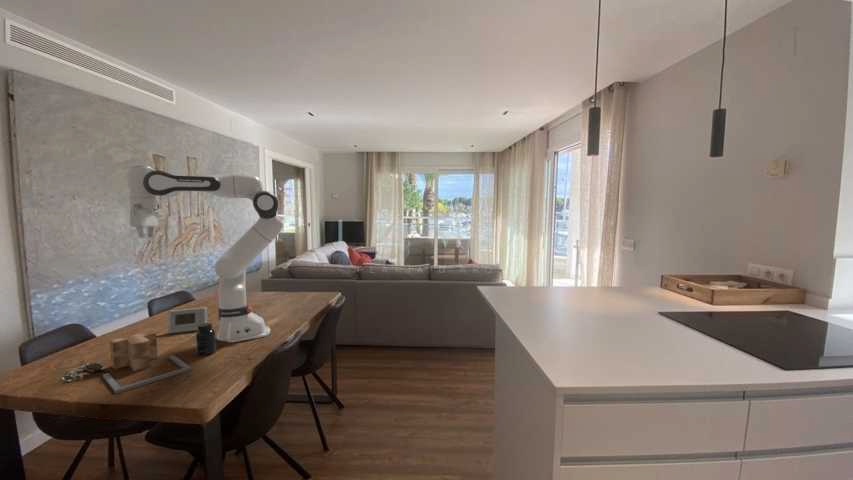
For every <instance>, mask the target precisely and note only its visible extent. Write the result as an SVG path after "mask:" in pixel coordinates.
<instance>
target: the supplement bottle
mask: <svg viewBox="0 0 853 480" xmlns="http://www.w3.org/2000/svg"><path fill="white" fill-rule="evenodd" d="M216 341H217V337H216V330H214V329H213V324H212V322H207V323H203V324H200V325H198V331H196V334H195V346H196V355H197V356H200V357H203V356H210V355H212V354H214V353H216V351H217V342H216Z"/></svg>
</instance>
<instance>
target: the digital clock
mask: <svg viewBox="0 0 853 480" xmlns="http://www.w3.org/2000/svg"><path fill="white" fill-rule="evenodd" d="M167 322H168V327H167V329H168V330H167V333H169V334H181V333H188V332H198V325H200V324H203V323H208V308H207V307H192V308H191V307H189V308H183V309H182V308H181V309H173V310H172V309H171V310H169V311H168V320H167Z"/></svg>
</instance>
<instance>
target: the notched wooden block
mask: <svg viewBox="0 0 853 480" xmlns="http://www.w3.org/2000/svg"><path fill="white" fill-rule="evenodd" d="M109 345H110V360H111V367H112V369H114V370H117V369H120V368H124V367H130V369H132V371H133V372H135V371H140V370H142V369H147V368H150V367H152V360H154V359H157V358H158V342H157V332H155V331H153V330H151V331H146V332H141V333H136V334H132V335H129V336H123V337H118V338H114V339H110V340H109Z"/></svg>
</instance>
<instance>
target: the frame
mask: <svg viewBox="0 0 853 480" xmlns="http://www.w3.org/2000/svg"><path fill="white" fill-rule="evenodd" d="M168 357H169V360H170V361H172V362H173V363H174V364H176V365H177V366H178V367H180V369H179V368H178V369H177V370H173V371H170V372H167V373H166V372H165V373H162V374H160V375H156V376H152V377H150V378H146V379H143V380H140V381H137V382H133V383H130V384H127V385H123V386H120V385H119V383H118V382H117V381H116V380H115V379H114V377H112V375H111V374H110V373H109V372H107V373H103V374H102V378H103V379H104V380H105V381H106V383H107V384H108V385H109V387H110V388H111V389H112V391H113V392H114V394H119V393H123V392H125V391H128V390H131V389H135V388H138V387H141V386H146V385H147V384H151V383H154V382H157V381H161V380H163V379H167V378H171V377H173V376H176V375H177V376H178V375H180V374H183V373H186V372H190V371H192V366H190V365H188V364H187V363H186V362H184V361H183V360H181V359H180V358H179V357H177V356H175V355H174V354H172V355H169V356H168Z"/></svg>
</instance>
